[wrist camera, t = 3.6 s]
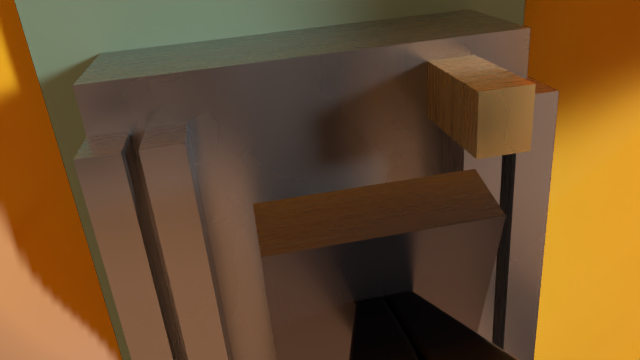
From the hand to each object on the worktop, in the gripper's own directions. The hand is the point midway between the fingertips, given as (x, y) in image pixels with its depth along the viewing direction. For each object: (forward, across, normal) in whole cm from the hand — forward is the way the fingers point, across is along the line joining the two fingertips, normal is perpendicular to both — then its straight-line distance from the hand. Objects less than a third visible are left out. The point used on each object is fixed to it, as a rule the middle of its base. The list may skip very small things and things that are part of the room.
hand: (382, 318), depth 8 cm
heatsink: (+7, 0, +5) cm, 9 cm away
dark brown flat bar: (+2, 0, +5) cm, 5 cm away
